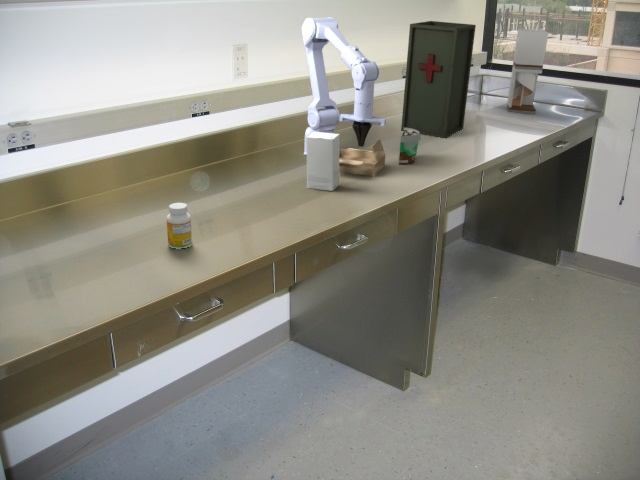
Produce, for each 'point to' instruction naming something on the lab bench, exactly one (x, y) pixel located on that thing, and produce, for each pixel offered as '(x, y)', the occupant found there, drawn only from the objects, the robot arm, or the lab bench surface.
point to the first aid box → (437, 77)
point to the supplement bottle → (179, 226)
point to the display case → (526, 69)
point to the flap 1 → (351, 162)
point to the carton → (360, 155)
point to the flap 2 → (378, 150)
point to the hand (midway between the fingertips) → (361, 145)
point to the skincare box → (323, 161)
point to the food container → (408, 146)
